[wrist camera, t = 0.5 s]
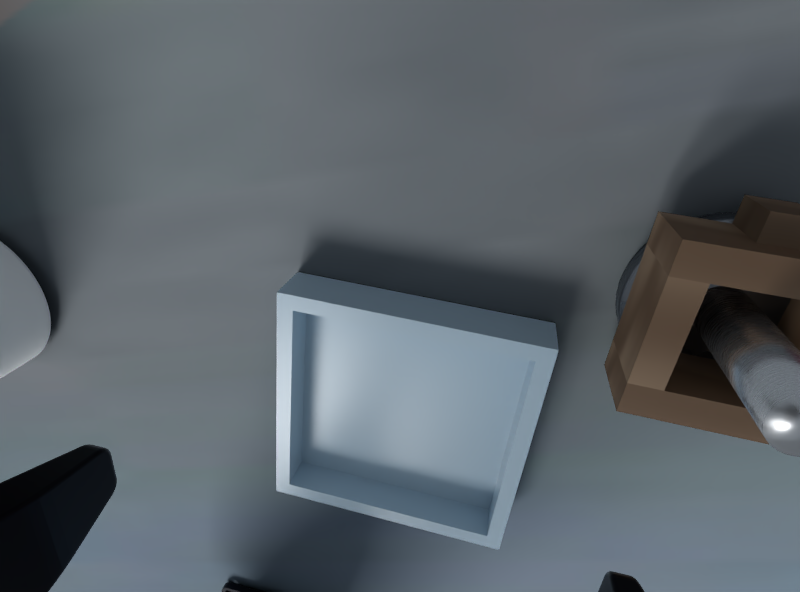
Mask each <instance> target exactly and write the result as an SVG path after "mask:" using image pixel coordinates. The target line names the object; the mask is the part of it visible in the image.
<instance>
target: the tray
mask: <svg viewBox="0 0 800 592" xmlns="http://www.w3.org/2000/svg"><path fill="white" fill-rule="evenodd" d="M558 351H559V348H558V340H557V332H556V324H555V323H552V322H547V321H542V320H537V319H532V318H527V317H522V316H517V315H512V314H507V313H502V312H497V311H492V310H486V309H481V308H476V307H471V306H466V305H461V304H456V303H451V302H446V301H441V300H436V299H431V298H426V297H421V296H416V295H411V294H406V293H401V292H396V291H391V290H386V289H381V288H376V287H371V286H366V285H361V284H356V283H351V282H346V281H341V280H336V279H331V278H325V277H320V276H315V275H310V274H305V273H300V272H297V273H296V274H295V275H294V276H293V277H292V278H291V279H290V280H289V281H288V282H287V283H286V284H285V285H284V286H283V287H282V288H281V289H280V290H279V291H278V292H277V412H276V491H279V492H283V493H286V494H290V495H294V496H298V497H301V498H305V499H309V500H313V501H316V502H320V503H324V504H328V505H332V506H335V507H339V508H343V509H347V510H350V511H354V512H358V513H362V514H365V515H369V516H373V517H377V518H381V519H384V520H388V521H392V522H396V523H399V524H403V525H407V526H411V527H414V528H418V529H422V530H426V531H429V532H433V533H437V534H441V535H445V536H448V537H452V538H456V539H460V540H463V541H467V542H471V543H475V544H478V545H482V546H486V547H490V548H494V549H497V550H499V548H500V545H501V541H502V538H503V535H504V531H505V528H506V525H507V521H508V518H509V515H510V511H511V508H512V505H513V501H514V498H515V495H516V491H517V488H518V485H519V481H520V478H521V475H522V471H523V468H524V465H525V461H526V458H527V455H528V451H529V448H530V445H531V441H532V438H533V434H534V431H535V428H536V424H537V421H538V418H539V414H540V411H541V408H542V404H543V401H544V398H545V394H546V391H547V388H548V384H549V381H550V378H551V374H552V371H553V368H554V364H555V361H556V358H557V354H558Z"/></svg>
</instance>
